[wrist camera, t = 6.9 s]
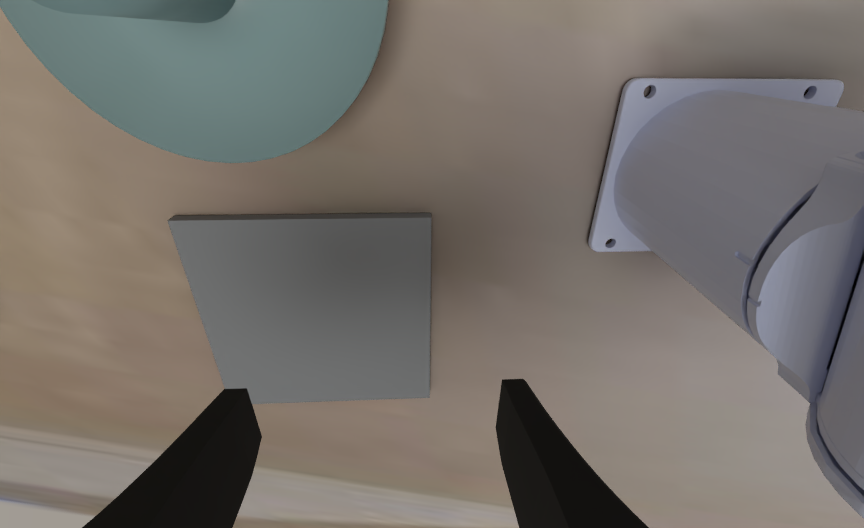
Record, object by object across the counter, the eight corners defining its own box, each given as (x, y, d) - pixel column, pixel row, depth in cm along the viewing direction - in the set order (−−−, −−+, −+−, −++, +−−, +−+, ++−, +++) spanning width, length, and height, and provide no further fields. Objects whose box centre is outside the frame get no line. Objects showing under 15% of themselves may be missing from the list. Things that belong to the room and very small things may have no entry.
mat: (430, 212, 19) (431, 217, 19) (428, 390, 25) (429, 397, 25) (173, 215, 19) (167, 220, 18) (234, 396, 24) (230, 404, 24)
